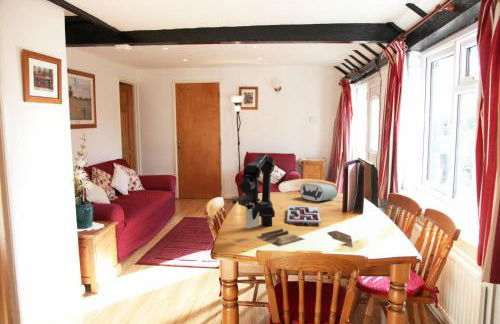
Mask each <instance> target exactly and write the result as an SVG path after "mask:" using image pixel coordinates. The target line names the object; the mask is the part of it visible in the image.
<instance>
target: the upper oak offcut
mask: <svg viewBox="0 0 500 324" xmlns="http://www.w3.org/2000/svg"><path fill="white" fill-rule="evenodd" d="M294 238H297V234H294V233H290V234H288V235H284V236H280V237H277V240H279V241H281V242H283V241H287V240H291V239H294Z"/></svg>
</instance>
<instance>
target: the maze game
mask: <svg viewBox="0 0 500 324" xmlns="http://www.w3.org/2000/svg"><path fill="white" fill-rule="evenodd" d="M286 222H287V223H288V225H298V224H304V225H305V224H306V226H307V225H309V226H319V225H320V224H321V223H322V219H321V217H320V213H319V209H318V206H301V205H300V206H299V205H298V206H297V205H295V206H293V205H292V206H291V205H288V206H287V219H286Z"/></svg>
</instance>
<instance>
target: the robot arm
mask: <svg viewBox="0 0 500 324" xmlns="http://www.w3.org/2000/svg"><path fill="white" fill-rule="evenodd" d="M275 166H276V160H275V159H274V158H273V157H271V156H270V155H269V154H267V153H259V154H258V156H257V157H256V158H255V160H254V161H252V162H250V163H247V164H246V165H245V167H244V169H243V172H242V173H243V174H242V179H243V181H242V182H240V186H239V188H240V190H241V192H242V193H244V194H243V195H240V196H239V197H238V198H236V202H237V204H238V205H239V206H242V207H245V208H246V210H250V209H252V215H253V220H254V219H255V218H256V216H257V214H258V212H259V218H260V220H261V221H260V226H262V227H267V228H270V227H273V218H275V217H276V216H275V215H276V213H275V209H274V207H273V203H272V201H271V187H272V186H271V185H272V183H271V182H272V181H271V180H272V174H273V172H274V170H275ZM261 173H262V185H261V186H262V188H261V190H259V179H260V176H261ZM261 191H262V192H261ZM260 193H261V199H260V198H259V194H260Z"/></svg>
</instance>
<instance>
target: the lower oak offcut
mask: <svg viewBox="0 0 500 324" xmlns="http://www.w3.org/2000/svg"><path fill="white" fill-rule="evenodd" d="M297 240H300V236H298V237H297V238H294V239H291V240H287V241H283V242H281V241H279V240H277V239H276V240H275V242H276V243H279V244H281V245H283V244H286V243H290V242H293V241H297ZM297 242H298V241H297ZM290 244H291V243H290ZM283 246H284V245H283Z"/></svg>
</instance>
